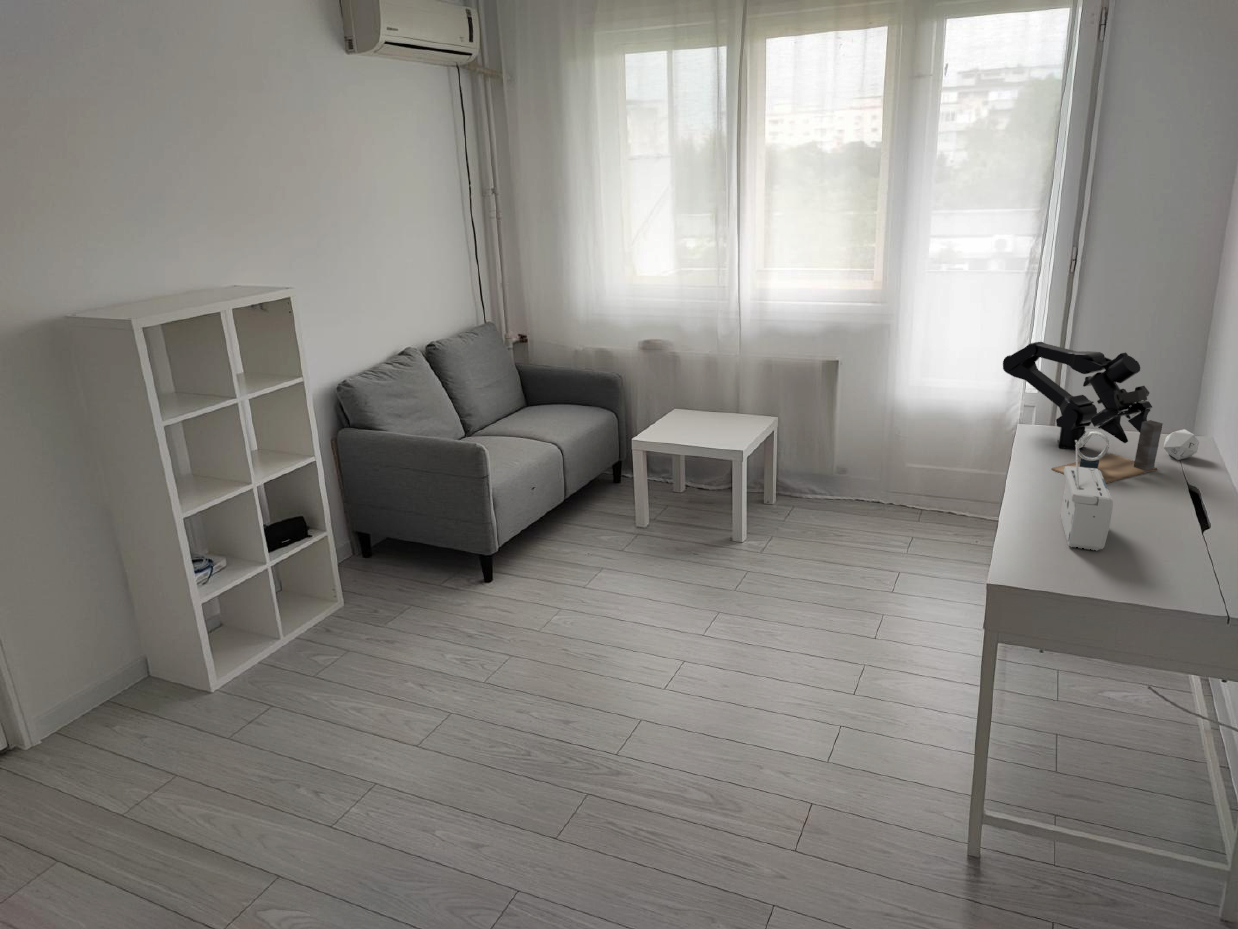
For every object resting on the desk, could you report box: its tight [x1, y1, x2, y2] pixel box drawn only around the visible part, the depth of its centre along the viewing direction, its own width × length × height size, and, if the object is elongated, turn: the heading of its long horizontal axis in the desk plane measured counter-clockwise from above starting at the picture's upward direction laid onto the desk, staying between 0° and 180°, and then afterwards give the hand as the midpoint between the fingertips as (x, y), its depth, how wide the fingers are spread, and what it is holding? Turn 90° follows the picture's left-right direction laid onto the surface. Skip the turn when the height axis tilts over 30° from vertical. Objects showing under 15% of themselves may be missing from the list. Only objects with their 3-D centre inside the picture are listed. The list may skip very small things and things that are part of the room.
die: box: [1162, 428, 1200, 461], centre depth 254 cm, size 8×9×10 cm
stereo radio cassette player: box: [1060, 440, 1114, 551], centre depth 204 cm, size 21×8×20 cm, turn 160°
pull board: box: [1051, 419, 1164, 484], centre depth 244 cm, size 14×25×14 cm, turn 117°
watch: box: [1075, 430, 1110, 469], centre depth 243 cm, size 6×8×11 cm
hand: (1137, 439), depth 246 cm, fingers open, 9 cm apart
